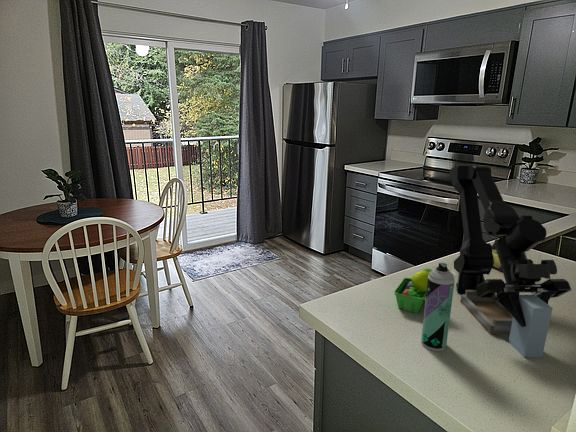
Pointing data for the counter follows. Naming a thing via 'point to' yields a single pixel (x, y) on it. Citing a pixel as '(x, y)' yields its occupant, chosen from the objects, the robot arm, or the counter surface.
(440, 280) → the spray can
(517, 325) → the blue-grey rectangular block
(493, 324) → the shallow grey tray
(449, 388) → the counter surface
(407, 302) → the fruit basket
